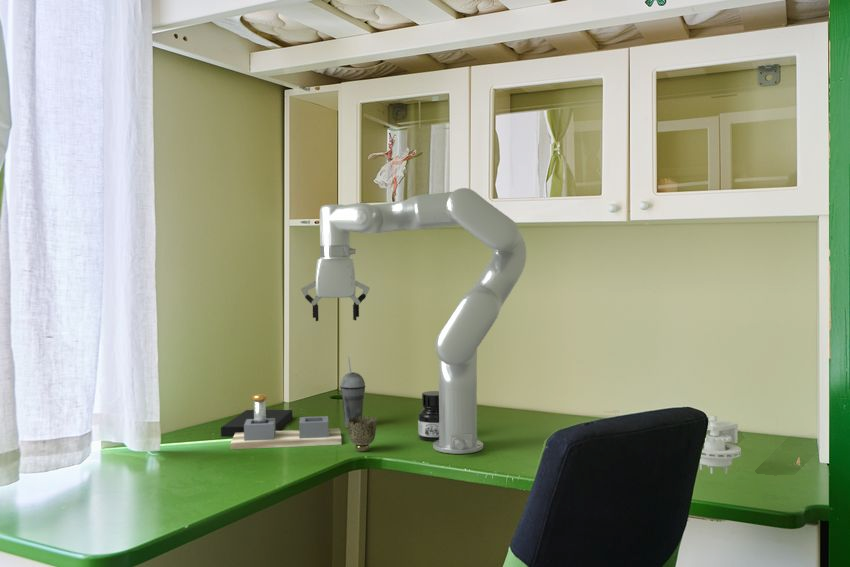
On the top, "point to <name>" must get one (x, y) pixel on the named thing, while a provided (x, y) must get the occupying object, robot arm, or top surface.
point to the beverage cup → (352, 395)
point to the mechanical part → (720, 444)
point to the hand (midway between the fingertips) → (335, 320)
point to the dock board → (286, 440)
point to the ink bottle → (429, 416)
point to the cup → (362, 432)
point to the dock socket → (259, 430)
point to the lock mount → (313, 427)
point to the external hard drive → (238, 422)
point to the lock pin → (259, 408)
